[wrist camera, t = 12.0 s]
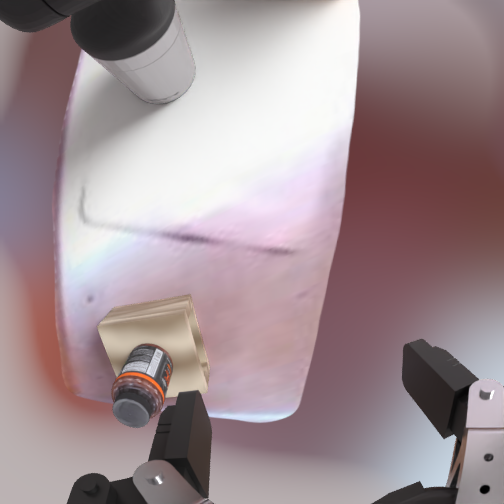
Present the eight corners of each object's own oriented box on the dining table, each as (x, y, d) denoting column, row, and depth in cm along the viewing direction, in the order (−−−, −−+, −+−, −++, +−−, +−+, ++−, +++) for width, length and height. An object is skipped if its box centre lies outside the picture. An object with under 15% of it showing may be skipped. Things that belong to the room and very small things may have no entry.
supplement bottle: (174, 382, 40) (159, 440, 29) (131, 375, 39) (106, 429, 28) (174, 344, 39) (157, 398, 28) (129, 337, 38) (99, 387, 27)
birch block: (114, 307, 44) (97, 326, 38) (190, 294, 45) (183, 313, 38) (138, 375, 47) (127, 400, 40) (210, 366, 47) (207, 392, 40)
